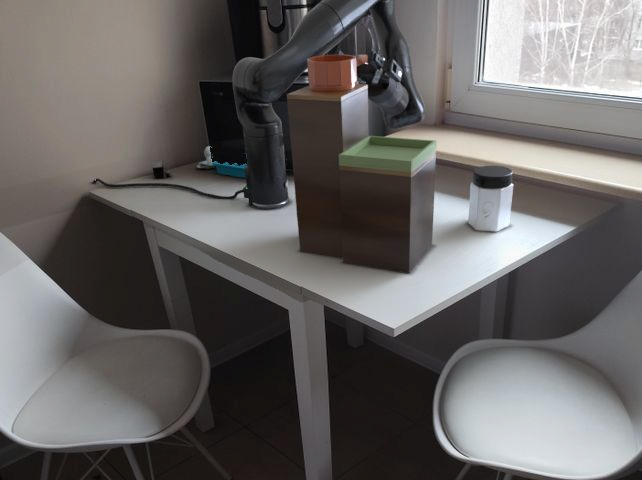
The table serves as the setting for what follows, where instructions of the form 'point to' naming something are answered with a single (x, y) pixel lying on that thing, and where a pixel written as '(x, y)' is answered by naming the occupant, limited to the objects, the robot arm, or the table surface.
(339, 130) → the stand
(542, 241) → the table surface
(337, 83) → the saucepan
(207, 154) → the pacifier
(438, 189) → the table surface
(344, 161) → the tray
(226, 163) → the ice cube tray
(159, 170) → the wireless earbuds
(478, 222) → the jar
